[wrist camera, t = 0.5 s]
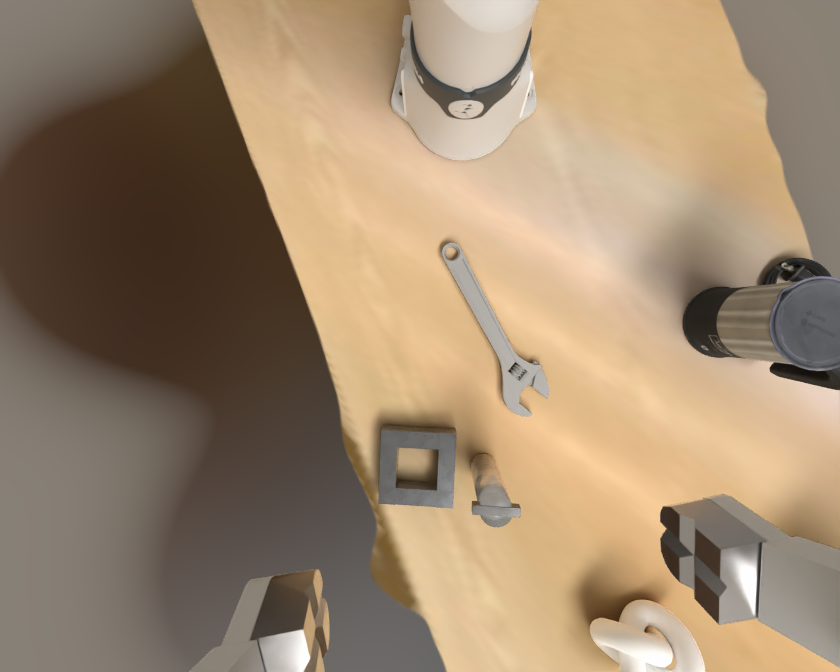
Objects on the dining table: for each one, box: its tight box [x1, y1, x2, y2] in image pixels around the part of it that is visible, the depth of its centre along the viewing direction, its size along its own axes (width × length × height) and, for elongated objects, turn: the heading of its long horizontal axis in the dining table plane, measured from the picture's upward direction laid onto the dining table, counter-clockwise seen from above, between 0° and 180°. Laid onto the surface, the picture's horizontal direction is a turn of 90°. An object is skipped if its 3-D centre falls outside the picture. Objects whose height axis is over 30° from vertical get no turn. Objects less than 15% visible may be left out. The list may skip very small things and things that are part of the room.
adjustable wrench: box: [442, 243, 549, 417], centre depth 55 cm, size 25×6×2 cm, turn 24°
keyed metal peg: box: [471, 453, 521, 527], centre depth 50 cm, size 4×5×13 cm
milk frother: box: [683, 258, 840, 390], centre depth 46 cm, size 14×16×15 cm
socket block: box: [378, 425, 456, 508], centre depth 55 cm, size 10×10×2 cm
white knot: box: [590, 599, 705, 672], centre depth 52 cm, size 11×12×9 cm
